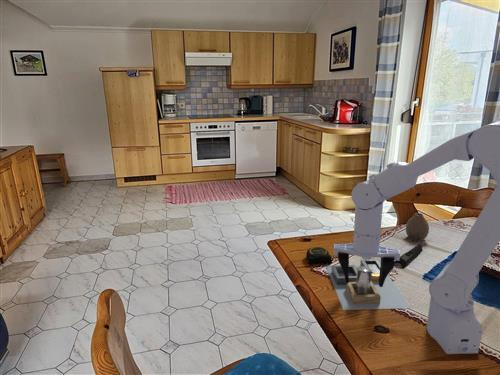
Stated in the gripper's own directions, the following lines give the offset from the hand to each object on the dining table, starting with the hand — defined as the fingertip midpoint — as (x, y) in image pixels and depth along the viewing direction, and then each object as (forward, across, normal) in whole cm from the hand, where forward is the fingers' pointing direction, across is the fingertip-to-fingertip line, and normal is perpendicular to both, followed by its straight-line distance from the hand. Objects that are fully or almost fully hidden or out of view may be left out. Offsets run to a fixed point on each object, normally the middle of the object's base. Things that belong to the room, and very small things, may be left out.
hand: (363, 282), depth 79 cm
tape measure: (+5, -12, +15) cm, 20 cm away
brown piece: (+4, 0, 0) cm, 4 cm away
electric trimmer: (+5, +14, +22) cm, 27 cm away
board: (+5, 0, +5) cm, 7 cm away
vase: (+5, +19, +38) cm, 43 cm away
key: (+4, +3, +11) cm, 12 cm away
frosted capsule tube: (+4, 0, 0) cm, 4 cm away
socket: (+4, -1, +9) cm, 10 cm away
